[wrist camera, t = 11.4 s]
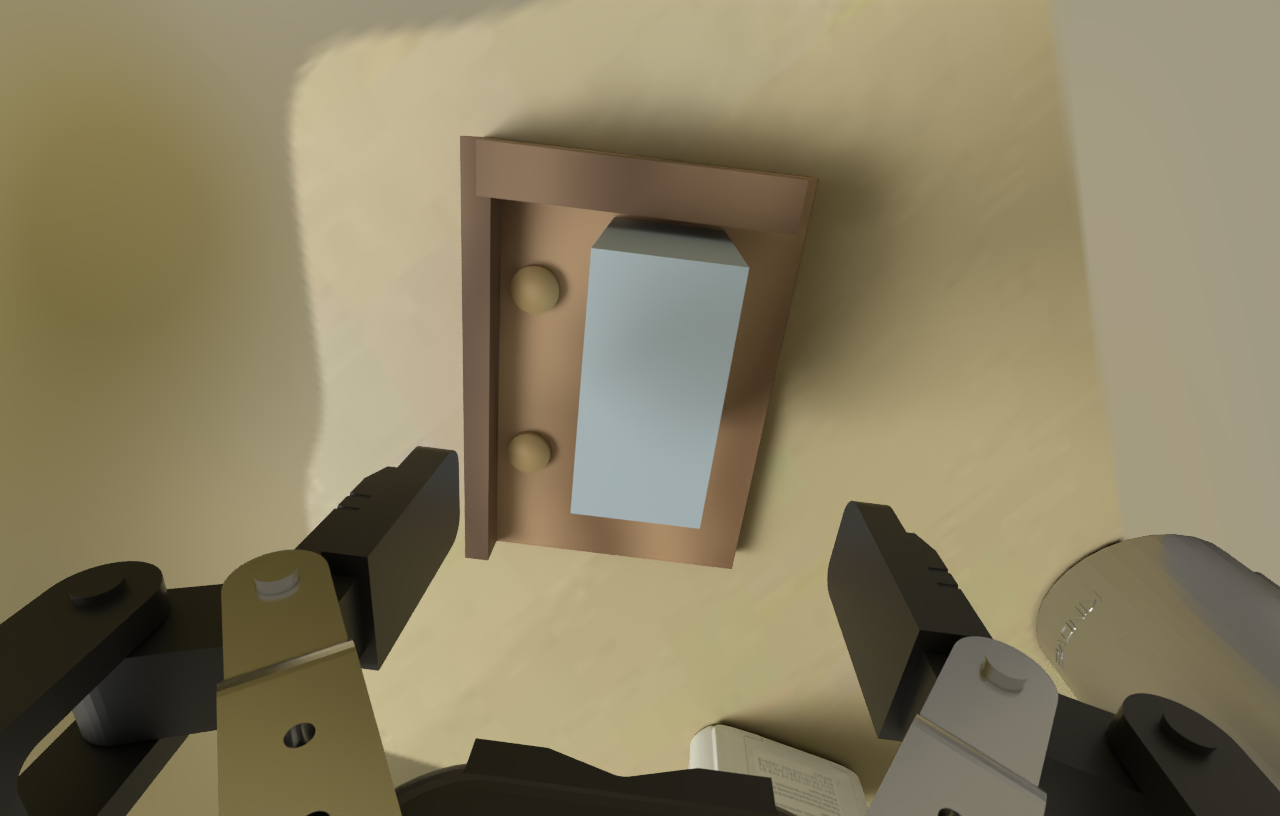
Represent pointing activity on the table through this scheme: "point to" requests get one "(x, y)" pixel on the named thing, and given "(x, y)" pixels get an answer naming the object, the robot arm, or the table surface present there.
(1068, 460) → the table surface
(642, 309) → the tall pale blue block
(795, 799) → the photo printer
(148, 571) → the robot arm
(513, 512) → the board
